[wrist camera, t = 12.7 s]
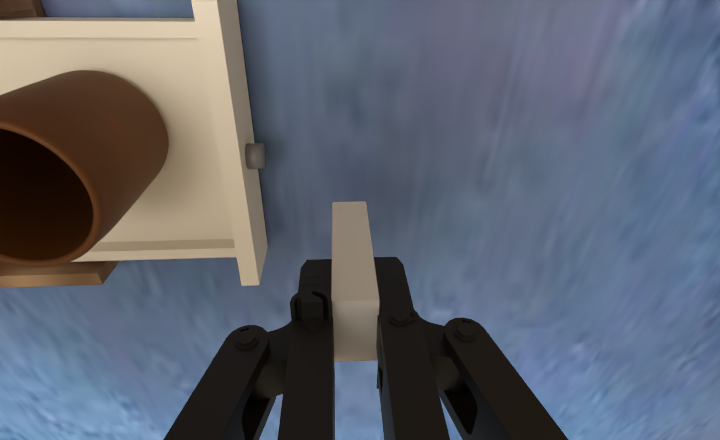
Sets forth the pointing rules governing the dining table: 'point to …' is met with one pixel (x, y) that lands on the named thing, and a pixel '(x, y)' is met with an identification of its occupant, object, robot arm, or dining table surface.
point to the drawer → (167, 125)
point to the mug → (73, 163)
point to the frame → (27, 4)
